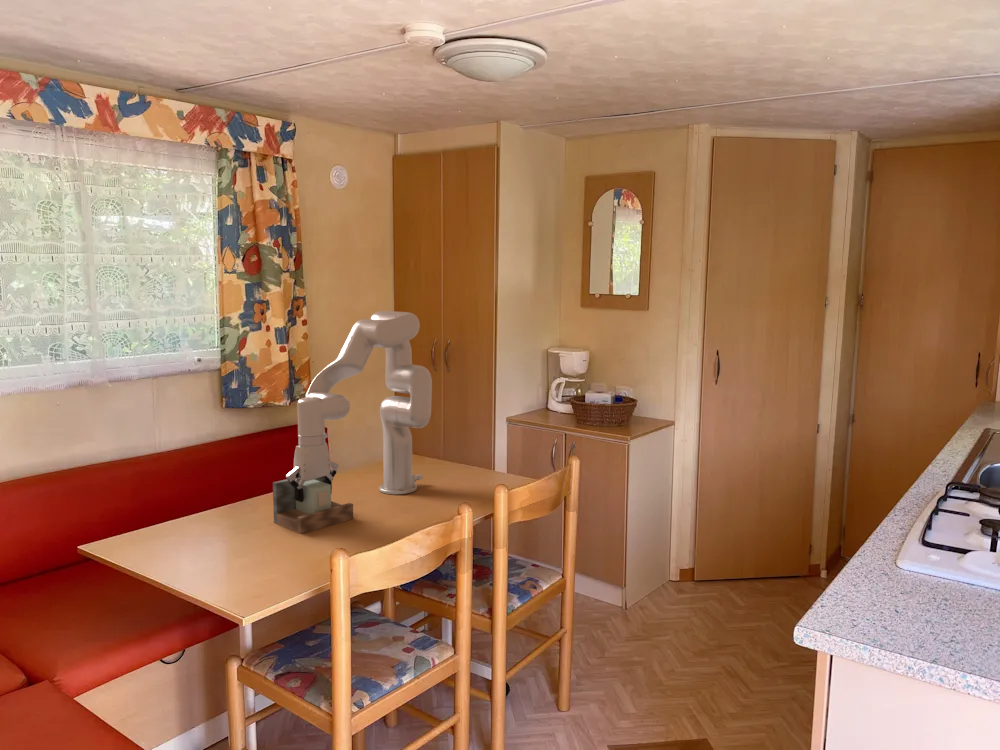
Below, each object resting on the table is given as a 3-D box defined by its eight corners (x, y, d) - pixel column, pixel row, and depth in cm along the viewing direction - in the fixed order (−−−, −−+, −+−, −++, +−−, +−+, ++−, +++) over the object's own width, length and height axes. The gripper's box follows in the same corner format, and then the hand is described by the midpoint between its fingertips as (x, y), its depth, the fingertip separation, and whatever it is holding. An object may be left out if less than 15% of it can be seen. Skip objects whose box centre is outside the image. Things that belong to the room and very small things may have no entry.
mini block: (313, 504, 232) (312, 478, 231) (331, 511, 226) (331, 485, 225) (295, 509, 228) (295, 482, 227) (314, 516, 222) (313, 489, 220)
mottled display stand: (325, 508, 238) (324, 470, 237) (353, 518, 229) (352, 479, 228) (273, 522, 225) (272, 482, 223) (301, 533, 216) (300, 492, 214)
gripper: (328, 433, 233) (330, 488, 236) (278, 443, 220) (280, 501, 223) (344, 437, 228) (345, 493, 231) (293, 447, 215) (295, 507, 218)
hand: (313, 497), depth 227 cm, fingers open, 9 cm apart
